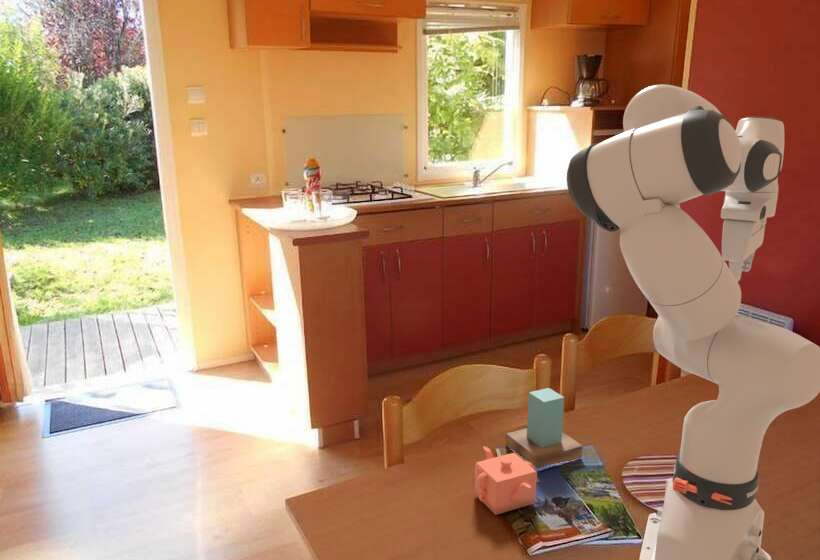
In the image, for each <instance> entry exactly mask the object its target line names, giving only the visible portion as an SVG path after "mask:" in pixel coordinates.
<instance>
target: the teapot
mask: <svg viewBox="0 0 820 560" xmlns="http://www.w3.org/2000/svg"><path fill="white" fill-rule="evenodd" d="M483 451H484V453H485V457H486V459H484V460H480V461H477V462H475V471H474V472H475V474H474V476H475V477H474V495H475V496H476V497H477V498H478V499H479V501H480V502H481V503H483V504H484V505H485V506H486V507H487V508H488V509H489V510H490V511H491V512H492V513H493V514H494V515H495V516H497V515H501V514H505V513H508V512H511V511H514V510H518V509H520V508H524V507H528V506H531V505H534V504H536V497H537V495H536V494H537V479H538V472H537V471H536V470H534V466H533V465H532V464H531V463H530V462H528V461H524V460H523V459H521V458H520V457H519V456H518V455H517V454H515V453H513V452H511V453H507V454H503V455H499V456H496V457H494V455H493V453H492V450H491V449H490V448H489V447H487V446H483Z"/></svg>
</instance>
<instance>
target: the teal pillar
mask: <svg viewBox="0 0 820 560" xmlns="http://www.w3.org/2000/svg"><path fill="white" fill-rule="evenodd" d="M564 407H565V396H563V395H562V394H560V393H558V392H556V391H555V390H554V389H552V388H549V387H545V388H541V389H537V390H533V391H529V392H528V405H527V421H526V422H527V423H526V426H527V427H526V428H527V437H528V438H529V439H530V440H532V441H533V442H534V443H536V444H537V445H538V446H540V447H541V448H543V447H546V446H550V445H554V444H557V443H561V442H562V432H563V426H564V425H563V424H564Z"/></svg>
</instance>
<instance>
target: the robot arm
mask: <svg viewBox="0 0 820 560" xmlns="http://www.w3.org/2000/svg"><path fill="white" fill-rule="evenodd" d="M622 118H623V119H622V125H623V127H622V128H623V132H621V133H619V134H616V135H614V136H612V137H609V138H607V139H605V140H602V141H601V142H599V143H597V142H596V143H595V142H594V143H592V144H590V145H588V146H586V147H584V148H582V149H581V150H580V151H578V152H577V153H575V154H574V155H573V156H572V157H571V159H570V160H569V163H568V167H567V171H566V184H567V185H566V186H567V190H568V194H569V196H570V199H571V201H572V203H573V205H574V206H575V207H576V209H577V210H579V212H580V213H581V214H582V215H584V216H585V217H586V218H587V219H588V220H590V221H591V222H594V223H596V225H597V226H598V227H600V228H601V230H604V231H605V232H611V233H614V232H617V231H620V232H619V233H620V235H619V247H620V252H621V254H622V256H623V260H624V262H625V265H626V266H627V268H628V271H629V273H630V275H631V276H632V279H633V280H634V281H635V284H636V285H637V287H638V288H639V290H640V292H641V293H642V294H643V295H644V297H645V298H646V300H647V301H648V302H649V304H650V305H651V307H652V308H653V309H654V310H655V313H657V315H658V317H657V319H656V321H655V323H654V328H653V333H652V337H653V344H654V348H655V350H656V351H657V352H658V354H660V355H661V356H662V357H663V358H665V359H666V360H668V362H670V363H672V364H674V365H675V367H678V368H680V369H681V370H683V371H685V372H688V373H691V374H692V375H696V376H698V377H700V378H702V379H704V380H707V381H710V382H712V383H714V384H716V385H717V386H718V391H719V392H718V396H717V399H713V400H707V401H702V402H699V403H697V404H695V405H694V406H693V407H691V408H690V409H689V410H688V411H687V413H686V415H685V416H684V418H683V425H682V432H681V433H682V435H681V443H680V449H679V452H678V453H677V456H676V460H675V463H674V465H673V466H674V467H673V475H672V477H670V478H667V479H666V481H665V483H666V484H665V491H664V492H665V493H664V501H663V507H662V508H661V507H657V509H656V512H653V513H650V514H648V517H647V522H646V526H645V531H644V536H643V540H642V543H641V544H642V545H641V549H640V554H639V559H638V560H772V557H771V555H770V554H769V553H767V552H766V551H765V550H764V549H763V548H761V545H762V540H763V539H762V537H763V529H764V521H765V511H764V510H763V508H762V506H760V504H759V503H758V500H757V499H756V497H757V492H758V490H759V483H760V481H759V471H758V463H759V457H760V453H761V449H762V445H763V441H764V438H765V434H766V432H767V430H768V427H770V425H771V423H772V422H773V421H774V420H775V419H776V418H777V417H778V416H780V415H781V414H783V413H784V412H786V411H790V410H793V409H797V408H800V407H802V406H805V405H807V404H808V403H810V402H811V401H813V400H814V399H815V398H816V397H817V396H818V395H819V393H820V346H819V345H817V344H815V343H814V342H812V341H810V340H809V339H807V338H805V337H803V336H802V335H800V334H798V333H795V332H794V331H792V330H790V329H788V328H784V327H781V326H779V325H775V324H771V323H768V322H764V321H762V320H757V319H754V318H751V317H748V316H745V315H742V314H740V313H739V310H740V306H741V302H742V290H741V286H740V284H739V281H740V280H741V278H742V273H743V272H744V273H749V272H750V270H751V269H752V262H753V259H754V257H755V254H756V250H757V249H759V248H760V247H761V246H762V245H763V242H764V238H765V230H766V224H767V218H773V217H774V216H775V215H776V211H777V210H776V209H777V205H778V204H777V202H778V197H779V183H778V179H779V175H780V173H781V171H782V167H783V163H784V162H783V161H784V154H785V125H784V122H783V121H781V120H780V119H777V118H774V117H767V116H748V117H743V118H740V120H738V122H737V125H736V128H735V129H734V127H733V125H732V123H731V122H730V121H729V119H728V118H727V117H726V116H725V115H723V114H722V113H721V111H720V110H719V109H718V108H717V107H716V106H715V105H714V104H713V103H711V102H710V101H708V100H707V99H705V98H704V97H702V96H701V95H699V94H698V93H696V92H694V91H692V90H689V89H686V88H683V87H680V86H676V85H671V84H666V83H665V84H662V83H661V84H653V85H651V86H648V87H645V88H644V89H641V90H640V91H639V92H637V93H636V94H635V95H634V96H633V97H632V98H631V100H630V101H629V102H628V104H627V105H626V108H625V110H624V114H623V116H622ZM718 192H725V194H724V199H723V206H722V208H721V210H720V218H721V219H724V220H723V222H722V223H723V225H722V233H721V234H722V235H721V236H722V238H721V252H720V251H719V250H718V248H717V247H716V245H715V244H714V242H713V241H712V238H710V237H709V235H708V234H707V233H706V231H704V229H703V228H702V227H701V226H700V225H699V224H698V223H697V222H696V221H695V220H694V218H692V217H691V216H690V215H689V214H688V213H687V212H685V210H683V209H682V208H681V206H680V204H682V203H684V202H687V201H689V200H693V199H696V198H698V197H700V196H703V195H704V196H711V195H713V194H717V193H718ZM726 262H728V264H727V263H726Z"/></svg>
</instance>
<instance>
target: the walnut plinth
mask: <svg viewBox="0 0 820 560" xmlns="http://www.w3.org/2000/svg"><path fill="white" fill-rule="evenodd" d="M505 447H506V448H507V447H508V448H510V449H512V450H514V451H515V452H516V453H518V454H519V455H520V456H522V457H523V458H524V459H526V460H527V461H528V462H530V463H531V464H532V465H534V466H535V467H536V468H537V469H538V468H541V467H544V466H547V465H551V464H555V463H560V462H565V461H571V460H574V459H577V458H581V457H582V458H583V448H584V445H582V444H581V443H579V442H578V441H576V440H575V439H573V438H572V437H571V436H569V435H568V434H567V433H564V432H563V431H562V442H561V443H557V444H554V445H550V446H546V447H543V448H541V447H540V446H538V445H537V444H536V443H534V442H533V441H532V440H530V439H529V438H528V437H527V427H526V428H522V429H518V430H515V431H511V432H510V431H509V432H507V433H506V434H505ZM508 448H507V449H508ZM510 449H509V450H510Z"/></svg>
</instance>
